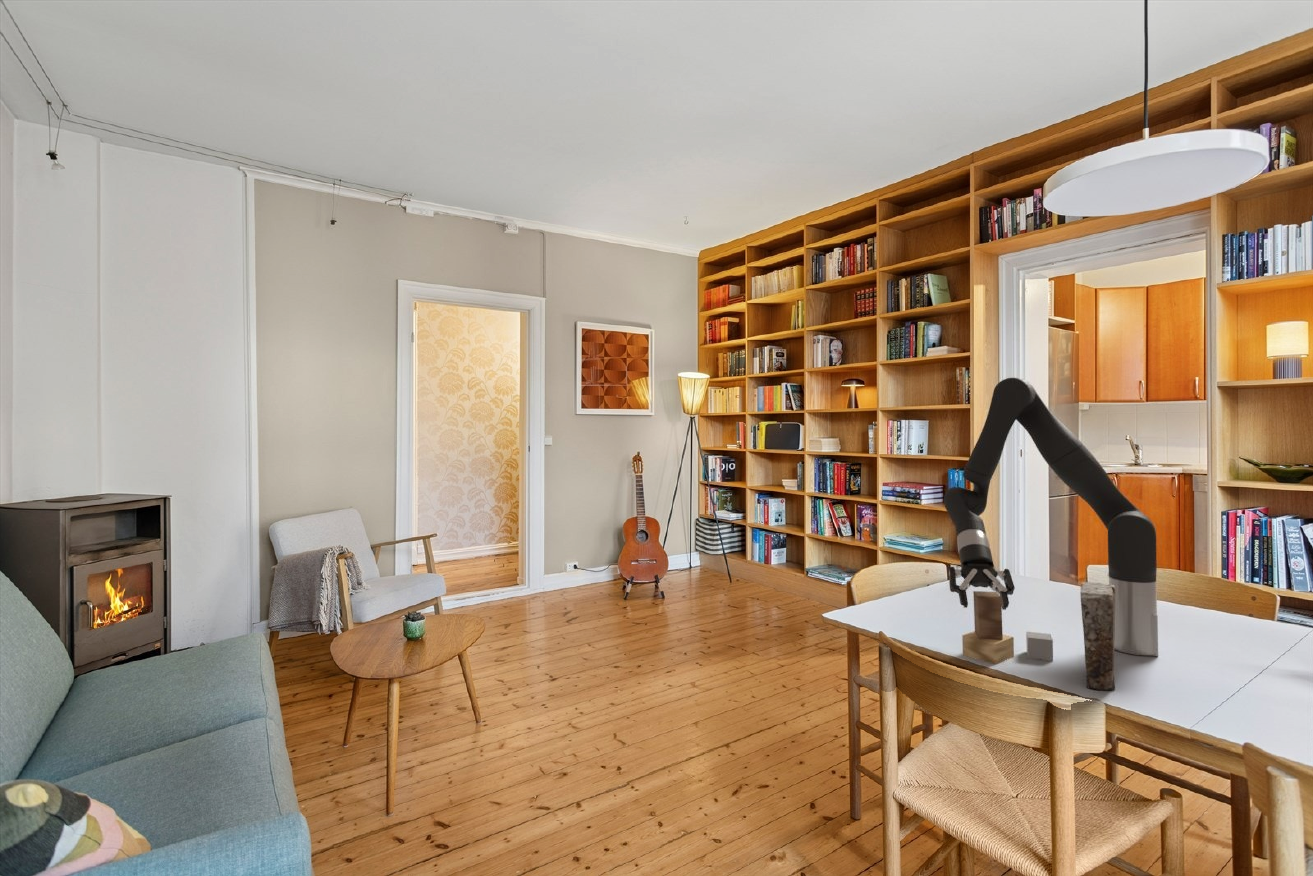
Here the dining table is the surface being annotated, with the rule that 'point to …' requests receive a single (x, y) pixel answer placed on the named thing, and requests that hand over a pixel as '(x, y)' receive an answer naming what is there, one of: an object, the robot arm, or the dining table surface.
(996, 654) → the oak block
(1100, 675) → the stone block
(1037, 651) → the grey cube
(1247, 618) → the dining table surface
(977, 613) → the walnut pillar
